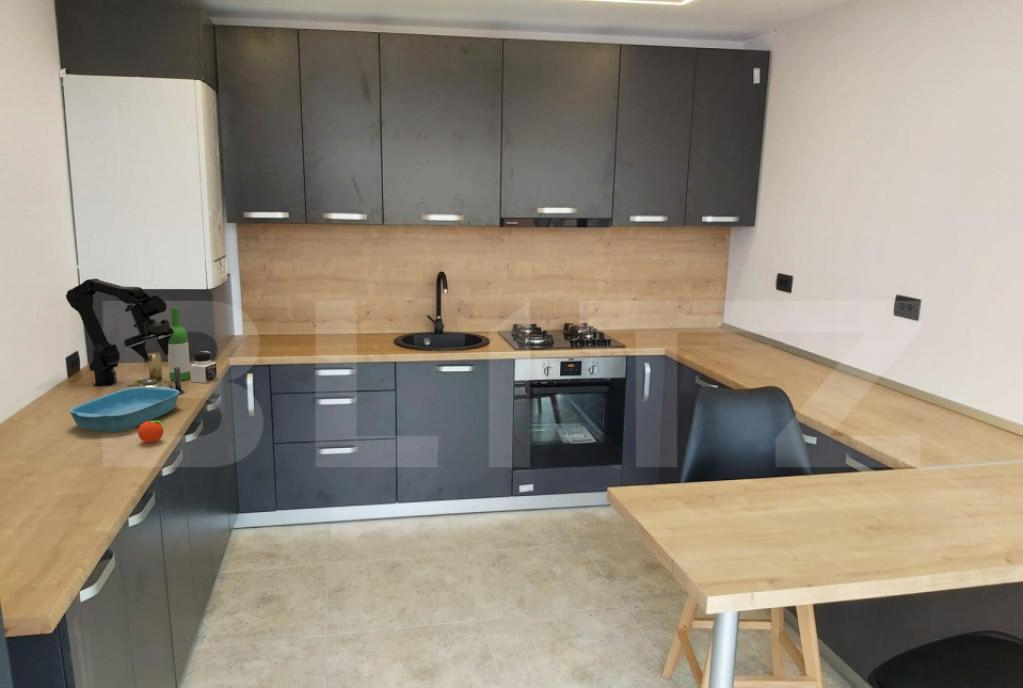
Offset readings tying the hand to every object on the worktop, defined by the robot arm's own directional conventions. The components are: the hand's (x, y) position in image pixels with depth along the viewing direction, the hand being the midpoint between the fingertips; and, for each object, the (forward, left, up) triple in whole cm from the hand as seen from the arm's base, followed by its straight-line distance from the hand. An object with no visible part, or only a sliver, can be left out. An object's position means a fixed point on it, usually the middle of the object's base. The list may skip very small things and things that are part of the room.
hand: (157, 358), depth 262 cm
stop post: (+8, -4, -13) cm, 16 cm away
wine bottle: (+3, +16, -13) cm, 21 cm away
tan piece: (-1, -7, -10) cm, 12 cm away
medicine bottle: (+13, +13, -13) cm, 23 cm away
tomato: (+15, -59, -13) cm, 62 cm away
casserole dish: (0, -34, -13) cm, 37 cm away
